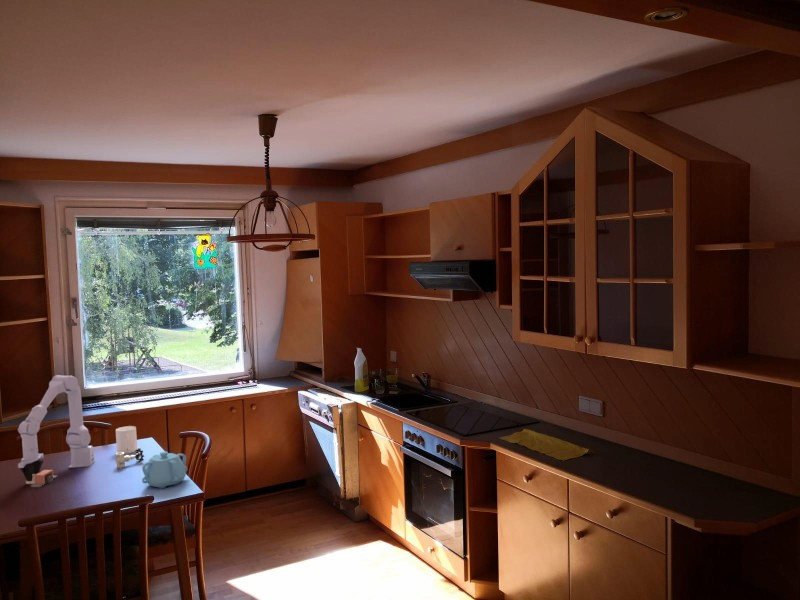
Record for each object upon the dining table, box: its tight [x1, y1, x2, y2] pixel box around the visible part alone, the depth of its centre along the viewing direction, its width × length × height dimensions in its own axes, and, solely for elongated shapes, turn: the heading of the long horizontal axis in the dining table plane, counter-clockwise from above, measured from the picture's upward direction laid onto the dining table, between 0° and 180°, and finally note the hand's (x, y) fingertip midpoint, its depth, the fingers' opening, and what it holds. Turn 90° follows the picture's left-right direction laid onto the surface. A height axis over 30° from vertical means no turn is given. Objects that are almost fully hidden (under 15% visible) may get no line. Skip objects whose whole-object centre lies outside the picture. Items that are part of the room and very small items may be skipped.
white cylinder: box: [115, 425, 138, 455], centre depth 330 cm, size 10×12×12 cm
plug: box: [25, 474, 54, 485], centre depth 289 cm, size 10×4×3 cm, turn 85°
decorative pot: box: [141, 451, 188, 489], centre depth 280 cm, size 16×16×14 cm
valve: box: [115, 447, 145, 469], centre depth 309 cm, size 7×7×12 cm
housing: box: [30, 469, 58, 488], centre depth 289 cm, size 4×13×4 cm, turn 175°
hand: (32, 479), depth 289 cm, fingers closed on plug, 4 cm apart
